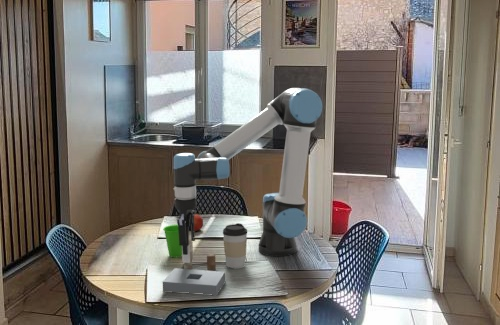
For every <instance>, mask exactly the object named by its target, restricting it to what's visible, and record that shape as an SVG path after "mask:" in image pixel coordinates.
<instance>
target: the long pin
mask: <svg viewBox="0 0 500 325" xmlns="http://www.w3.org/2000/svg"><path fill="white" fill-rule="evenodd" d="M192 242H193V241H191V231H189V245H190V263H183V269H192V270H193V260H192Z"/></svg>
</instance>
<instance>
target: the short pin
mask: <svg viewBox="0 0 500 325" xmlns="http://www.w3.org/2000/svg"><path fill="white" fill-rule="evenodd" d="M216 264H217V263H216V254H213V253H211V254H210V253H209V254H207V255H206V271H217V270H216V269H217V268H216Z"/></svg>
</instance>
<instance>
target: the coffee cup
mask: <svg viewBox="0 0 500 325" xmlns="http://www.w3.org/2000/svg"><path fill="white" fill-rule="evenodd" d="M222 235H223V249H224V256H225V266H226V267H227V268H229V267H231V268H230V269H241V268H243V266H244V265H246V255H247V241H248V238H247V237H248V229H247V228H246V227H245V226H244V225H243V223H234V224H233V223H232V224H228V225H226V226H225V227H224V228H223V229H222ZM240 267H241V268H240ZM244 267H245V266H244Z"/></svg>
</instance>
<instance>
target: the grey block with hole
mask: <svg viewBox="0 0 500 325" xmlns="http://www.w3.org/2000/svg"><path fill="white" fill-rule="evenodd" d="M224 282H225V283H226V271H217V270H216V271H207V269H206V270H203V269H193V268H192V269H184V268H176V267H174V268H173V270H172V271H171V272H170V273H169V274H168V275H167V276H166V277H165V278H164V279H163V281H162V292H163V291H172V292H189V293H203V294H212V295H217V296H218V294H219V293H218V291H219V290H220V291H221V289H222V288H223V286H224V285H225V283H224ZM222 285H223V286H222ZM221 287H222V288H221ZM220 288H221V289H220ZM220 291H219V292H220ZM172 292H171V293H172ZM217 293H218V294H217Z"/></svg>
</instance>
